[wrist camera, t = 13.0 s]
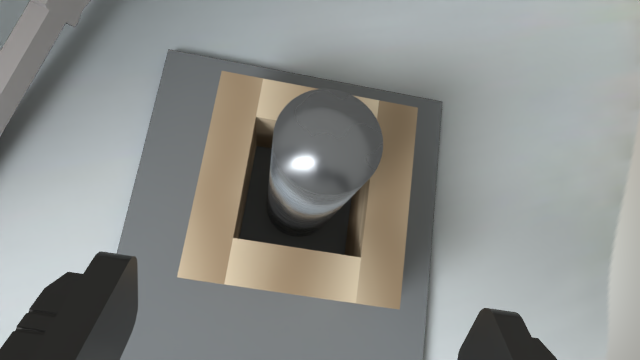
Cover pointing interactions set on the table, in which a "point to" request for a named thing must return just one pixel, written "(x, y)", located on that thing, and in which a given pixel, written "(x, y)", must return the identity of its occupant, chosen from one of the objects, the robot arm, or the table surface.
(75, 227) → the table surface
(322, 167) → the ball
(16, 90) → the caliper
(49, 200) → the table surface
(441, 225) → the table surface
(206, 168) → the wooden square frame
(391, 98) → the mat
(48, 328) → the robot arm
